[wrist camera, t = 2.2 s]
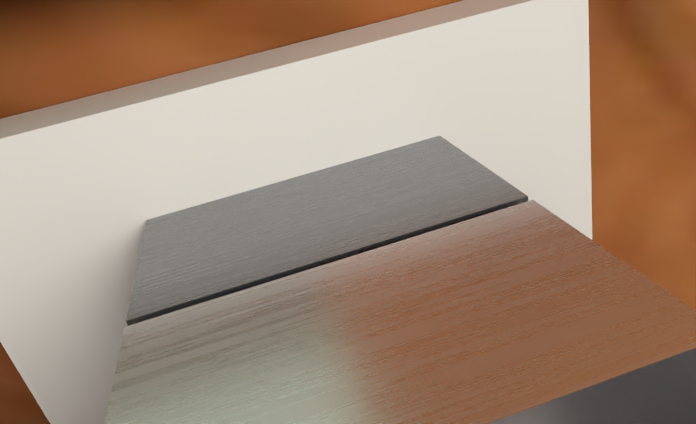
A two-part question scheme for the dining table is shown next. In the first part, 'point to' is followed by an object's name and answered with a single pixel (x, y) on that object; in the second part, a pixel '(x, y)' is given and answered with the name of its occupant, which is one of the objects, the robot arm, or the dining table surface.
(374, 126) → the stand
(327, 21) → the dining table surface
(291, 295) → the block
